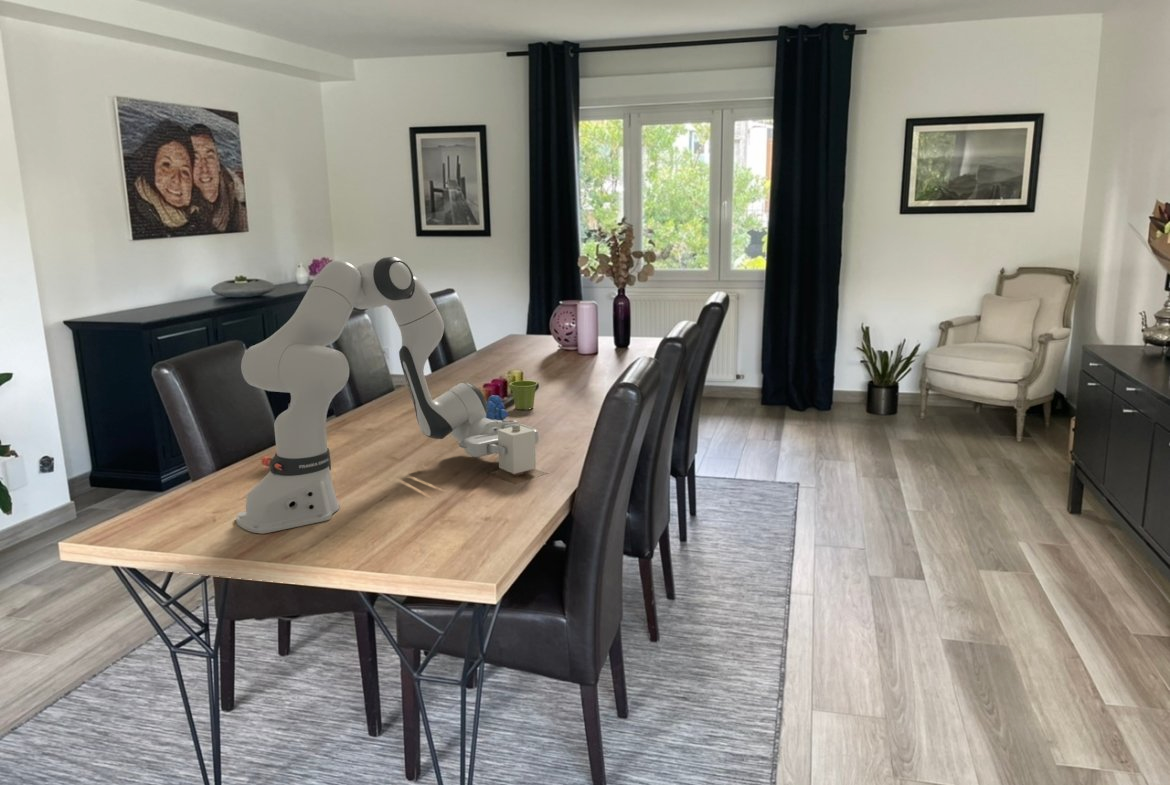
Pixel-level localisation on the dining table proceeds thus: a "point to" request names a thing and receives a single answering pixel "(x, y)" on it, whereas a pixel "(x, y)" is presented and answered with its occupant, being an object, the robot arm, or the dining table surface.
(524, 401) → the plant pot
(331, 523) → the dining table surface
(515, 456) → the cover
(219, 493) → the dining table surface
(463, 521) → the dining table surface
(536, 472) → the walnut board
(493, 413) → the blue bumpy lump
